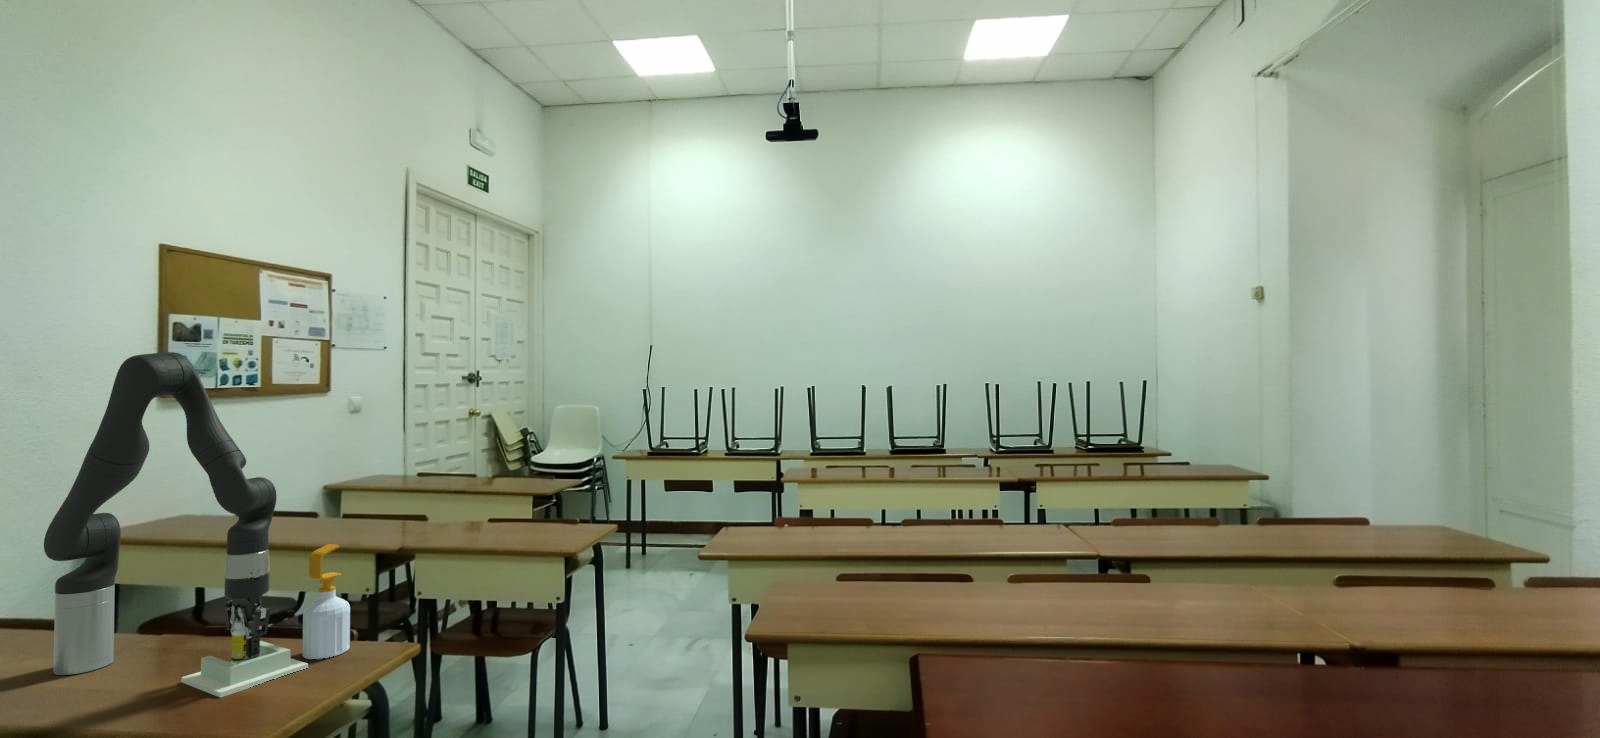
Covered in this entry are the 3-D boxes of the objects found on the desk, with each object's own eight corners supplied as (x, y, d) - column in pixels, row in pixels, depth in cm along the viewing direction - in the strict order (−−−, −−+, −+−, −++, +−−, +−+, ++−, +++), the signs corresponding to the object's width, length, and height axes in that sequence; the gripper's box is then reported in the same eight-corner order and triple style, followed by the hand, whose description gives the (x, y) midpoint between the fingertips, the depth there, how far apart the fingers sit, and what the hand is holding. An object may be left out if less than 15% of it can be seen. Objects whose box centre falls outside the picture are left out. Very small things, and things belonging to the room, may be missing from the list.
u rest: (181, 682, 145) (181, 660, 145) (268, 655, 159) (269, 635, 160) (220, 697, 138) (220, 674, 138) (308, 668, 152) (308, 647, 152)
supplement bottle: (243, 665, 146) (244, 624, 146) (225, 663, 147) (225, 623, 147) (265, 656, 151) (265, 617, 151) (247, 654, 152) (248, 615, 152)
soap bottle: (358, 648, 163) (359, 543, 164) (317, 663, 155) (319, 551, 156) (334, 643, 167) (335, 540, 168) (293, 656, 159) (294, 548, 159)
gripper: (209, 572, 149) (208, 653, 149) (244, 581, 143) (243, 665, 142) (250, 564, 156) (248, 641, 155) (285, 572, 149) (284, 652, 149)
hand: (246, 652), depth 149 cm, fingers open, 5 cm apart
